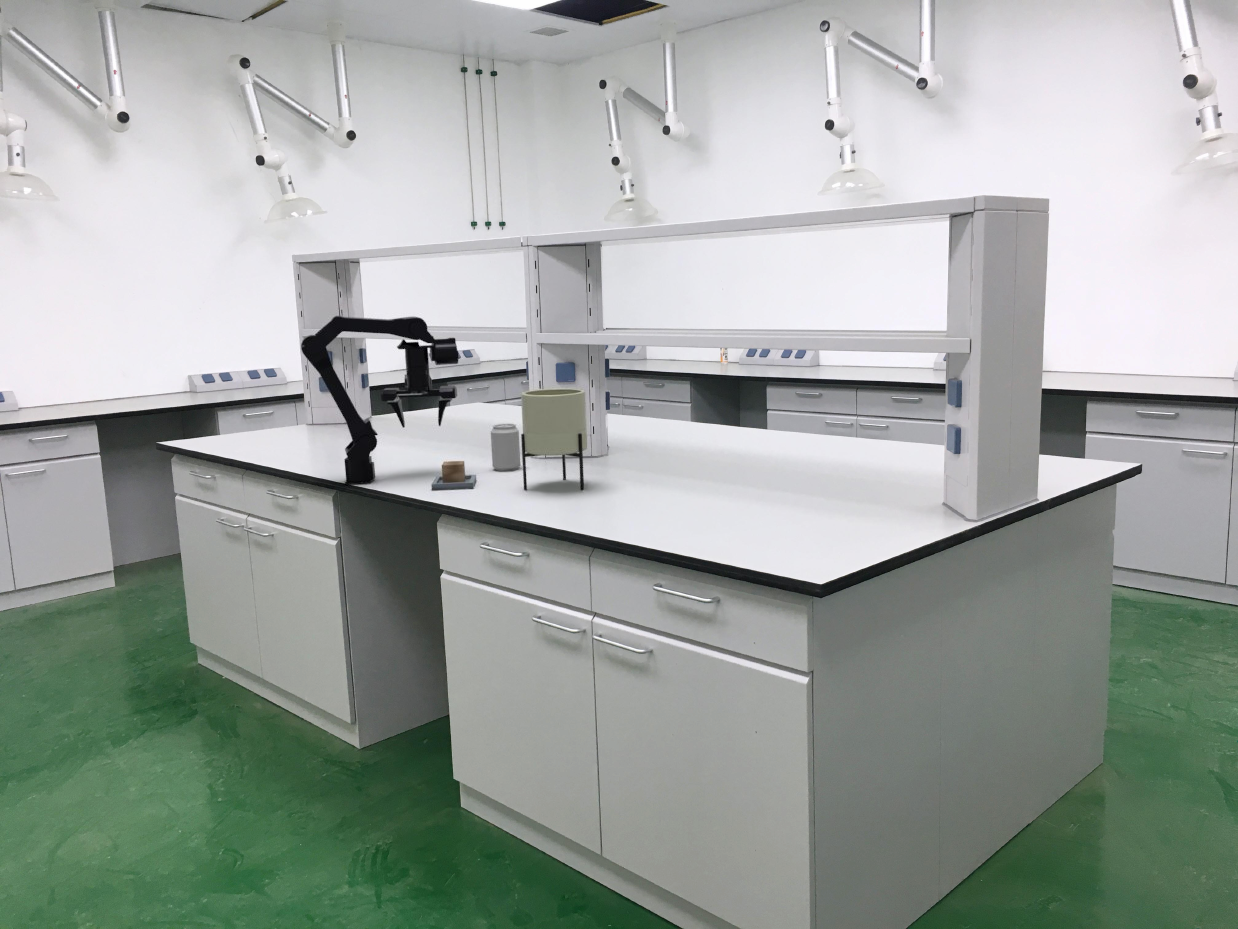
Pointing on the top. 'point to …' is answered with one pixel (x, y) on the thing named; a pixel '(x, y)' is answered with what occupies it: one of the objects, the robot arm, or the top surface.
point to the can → (505, 447)
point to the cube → (453, 471)
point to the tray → (468, 483)
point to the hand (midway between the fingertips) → (421, 426)
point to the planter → (554, 425)
